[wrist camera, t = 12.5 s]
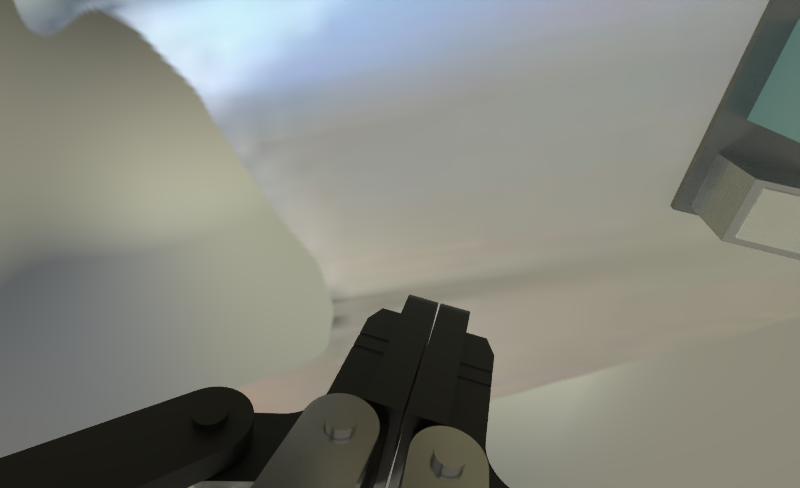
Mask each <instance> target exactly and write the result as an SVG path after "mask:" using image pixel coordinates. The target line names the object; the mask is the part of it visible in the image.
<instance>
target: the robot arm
mask: <svg viewBox="0 0 800 488" xmlns="http://www.w3.org/2000/svg"><path fill="white" fill-rule="evenodd" d="M437 307H438V302H434V301H431V300H427V299H424V298H420V297H417V296H413V295H409V296H408V299H407V301H406V303H405V305H404V308H403V310H402V312H401V313H397V312H394V311H390V310H387V309H381V310H380V311H378V312H377V313H375V314H373V315H372V316H370V317H369V318H368V319H367V321H366V323H365V325H364V326H363V328H362V330H361V332H360V335H359V336H358V338H357V339H356V341H355V343H354V346H353V347H352V349H351V350H350V352H349V354H348V356H347V358H346V360H345V362H344V363H343V365H342V367H341V369H340V371H339V373H338V374H337V376H336V378H335V380H334V382H333V384H332V386H331V387H330V389H329V391H328V393H327V394H326V395H324V396H321V397H319V398H317V399H315V400H314V401H312V402H311V403H310V404H309V405H308V406H307V407H306V408H305V410H303V411H300V412H296V413H289V414H275V413H254V410H253V406H252V404H251V402H250V400H249V399H248V398H247V397H246V396H245V395H244V394H243V393H241V392H239V391H237V390H235V389H232V388H227V387H208V388H204V389H200V390H197V391H193V392H191V393H188V394H185V395H182V396H179V397H176V398H173V399H171V400H167V401H165V402H162V403H159V404H156V405H153V406H150V407H147V408H144V409H141V410H139V411H135V412H133V413H130V414H127V415H124V416H121V417H118V418H115V419H112V420H109V421H106V422H104V423H101V424H98V425H95V426H92V427H89V428H86V429H83V430H81V431H77V432H75V433H72V434H69V435H66V436H63V437H60V438H57V439H54V440H51V441H49V442H46V443H43V444H40V445H37V446H34V447H31V448H28V449H26V450H23V451H20V452H17V453H14V454H11V455H8V456H5V457H2V458H0V488H385V487H386V483H387V480H388V477H389V474H390V470H391V467H392V464H393V460H394V457H395V453H396V451H397V447H398V444H399V447H398V451H397V455H396V459H395V463H394V467H393V471H392V475H391V479H390V483H389V487H388V488H509V487H508V486H507V485H505V484H504V483H503V482H502V481H501V479H500V478H499V477H498V476H497V475H496V473H495V472H494V470H493V469H492V467H491V465H490V463H489V460H488V458H487V454H486V449H485V445H486V432H487V422H488V412H489V402H490V392H491V389H490V388H491V382H492V372H493V362H494V354H493V352H492V349H491V347H490V345H489V343H488V340H487V339H486V338H483V337H480V336H476V335H473V334H469V333H466V330H467V325H468V320H469V315H470V312H469V311H466V310H462V309H459V308H455V307H452V306H448V305H445V304H440V308H439V311H438V314H437V317H436V321H435V324H434V327H433V323H434V319H435V315H436V311H437ZM432 327H433V330H432ZM431 331H432V334H431ZM430 334H431V337H430ZM429 338H430V340H429ZM428 342H429V343H428ZM401 434H402V435H401ZM400 438H401V439H400ZM399 441H400V443H399Z"/></svg>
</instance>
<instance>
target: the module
mask: <svg viewBox="0 0 800 488" xmlns="http://www.w3.org/2000/svg"><path fill="white" fill-rule="evenodd" d="M747 120H749V121H751V122H753V123H755V124H758V125H760V126H762V127H765V128H767V129H769V130H772V131H774V132H776V133H779V134H781V135H783V136H785V137H788V138H790V139H792V140H795V141H797V142H799V143H800V19H799V20H798V22H797V23H796V25H795V27H794V29H793V31H792V33H791V35H790V37H789V39H788V41H787V43H786V45H785V47H784V49H783V51H782V53H781V54H780V56H779V58H778V60H777V62H776V64H775V66H774V68H773V70H772V72H771V74H770V76H769V78H768V80H767V82H766V83H765V85H764V87H763V89H762V91H761V93H760V95H759V97H758V99H757V101H756V103H755V105H754V107H753V109H752V111H751V112H750V114H749V116H748V118H747Z"/></svg>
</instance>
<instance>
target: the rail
mask: <svg viewBox="0 0 800 488" xmlns="http://www.w3.org/2000/svg"><path fill="white" fill-rule="evenodd" d="M799 19H800V0H770V1H769V3H768V5H767V7H766V9H765V11H764V13H763V15H762V17H761V19H760V21H759V23H758V25H757V28H756V30H755V32H754V34H753V36H752V38H751V40H750V42H749V44H748V46H747V48H746V50H745V52H744V54H743V56H742V59H741V61H740V63H739V65H738V67H737V69H736V71H735V73H734V75H733V77H732V79H731V81H730V83H729V85H728V87H727V90H726V92H725V94H724V96H723V98H722V100H721V102H720V104H719V106H718V108H717V110H716V112H715V114H714V116H713V119H712V121H711V123H710V125H709V127H708V129H707V131H706V133H705V135H704V137H703V139H702V141H701V143H700V145H699V147H698V150H697V152H696V154H695V156H694V158H693V160H692V162H691V164H690V166H689V168H688V170H687V172H686V174H685V176H684V178H683V181H682V183H681V185H680V187H679V189H678V191H677V193H676V195H675V197H674V199H673V201H672V203H671V205H670V206H671V207H672V208H673V209H674V210H678V211H682V212H687V213H691V214H695V215H699V216H700V217H701V218H702V219H703V221H704V222H705V223H706V224H707V225H708V226H709V227H710V228H711V229H712V231H713V232H714V233H715V234H716V235H717V236H718V237H719V238H720V239H721V241H725V242H729V243H733V244H737V245H741V246H745V247H749V248H753V249H757V250H761V251H765V252H770V253H774V254H778V255H782V256H786V257H790V258H794V259H798V260H800V143H799V142H797V141H795V140H792V139H790V138H788V137H785V136H783V135H781V134H779V133H776V132H774V131H772V130H769V129H767V128H765V127H762V126H760V125H758V124H755V123H753V122H751V121H749V120H747V118H748V116H749V114H750V112H751V111H752V109H753V107H754V105H755V103H756V101H757V99H758V97H759V95H760V93H761V91H762V89H763V87H764V85H765V83H766V82H767V80H768V78H769V76H770V74H771V72H772V70H773V68H774V66H775V64H776V62H777V60H778V58H779V56H780V54H781V53H782V51H783V49H784V47H785V45H786V43H787V41H788V39H789V37H790V35H791V33H792V31H793V29H794V27H795V25H796V23H797V22H798V20H799Z"/></svg>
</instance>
